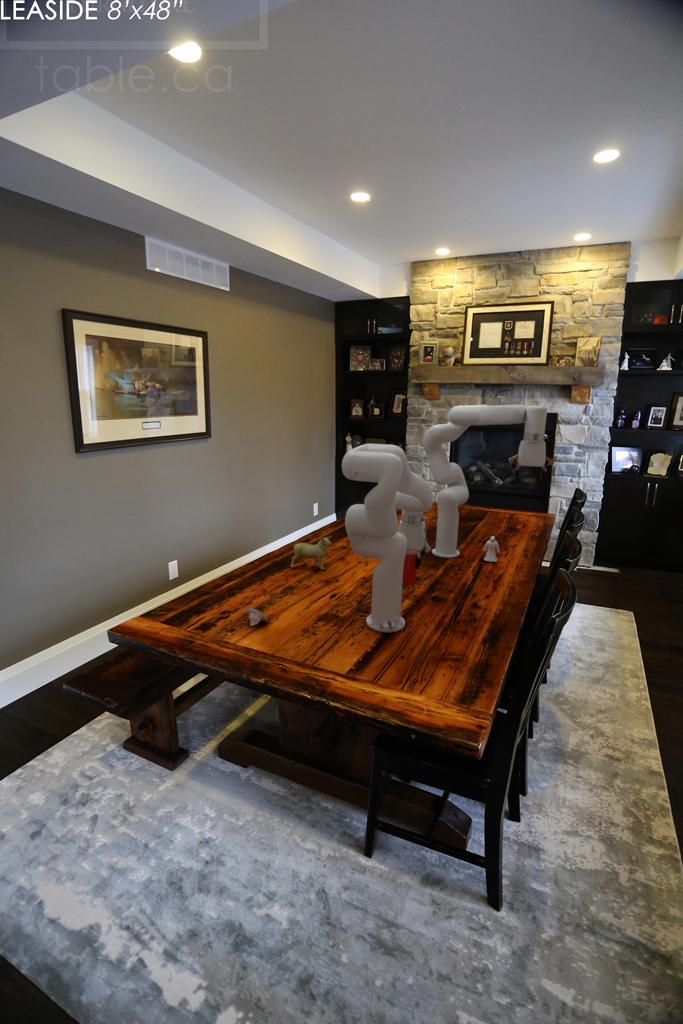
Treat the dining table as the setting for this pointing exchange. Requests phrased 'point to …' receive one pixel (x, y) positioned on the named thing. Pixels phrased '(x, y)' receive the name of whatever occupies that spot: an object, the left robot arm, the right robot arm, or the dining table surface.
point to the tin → (409, 568)
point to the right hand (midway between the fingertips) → (528, 480)
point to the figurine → (491, 550)
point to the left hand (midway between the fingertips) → (409, 565)
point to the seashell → (255, 616)
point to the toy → (311, 551)
